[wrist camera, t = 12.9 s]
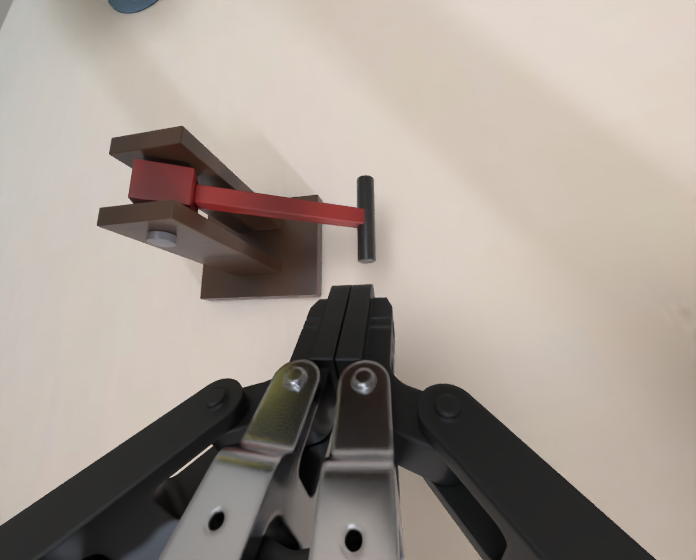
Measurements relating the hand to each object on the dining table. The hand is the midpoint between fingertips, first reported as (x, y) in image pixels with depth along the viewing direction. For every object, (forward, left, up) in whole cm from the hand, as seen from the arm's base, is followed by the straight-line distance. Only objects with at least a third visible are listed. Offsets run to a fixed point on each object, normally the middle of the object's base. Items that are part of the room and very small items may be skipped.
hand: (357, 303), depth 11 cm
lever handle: (+7, -7, -6) cm, 11 cm away
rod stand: (+11, -7, -13) cm, 19 cm away
